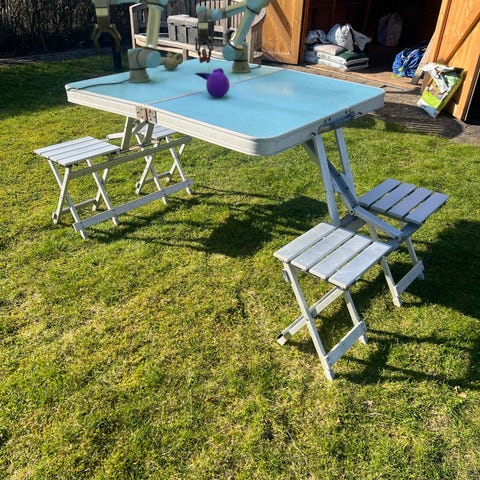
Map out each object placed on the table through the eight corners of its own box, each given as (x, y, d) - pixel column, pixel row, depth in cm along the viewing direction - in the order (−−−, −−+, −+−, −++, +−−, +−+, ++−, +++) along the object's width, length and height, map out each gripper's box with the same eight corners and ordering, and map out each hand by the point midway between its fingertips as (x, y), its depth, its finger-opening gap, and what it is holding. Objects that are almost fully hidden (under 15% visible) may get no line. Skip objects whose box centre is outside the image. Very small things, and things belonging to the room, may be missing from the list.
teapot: (162, 72, 368) (160, 52, 361) (157, 70, 377) (155, 51, 369) (186, 69, 377) (184, 50, 370) (180, 67, 386) (179, 48, 378)
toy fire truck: (210, 61, 367) (210, 47, 361) (207, 63, 356) (207, 49, 351) (202, 61, 368) (201, 47, 362) (199, 63, 357) (198, 49, 352)
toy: (217, 89, 307) (229, 103, 286) (192, 85, 299) (203, 98, 279) (222, 66, 299) (235, 78, 278) (197, 61, 291) (209, 73, 271)
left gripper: (123, 15, 286) (128, 50, 297) (87, 15, 290) (93, 50, 300) (118, 16, 279) (123, 52, 290) (81, 16, 283) (88, 52, 294)
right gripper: (216, 28, 351) (217, 59, 363) (191, 28, 354) (193, 59, 365) (214, 29, 345) (216, 60, 356) (189, 29, 347) (191, 60, 359)
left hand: (108, 51), depth 295 cm, fingers open, 13 cm apart
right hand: (204, 60), depth 361 cm, fingers closed on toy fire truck, 7 cm apart
